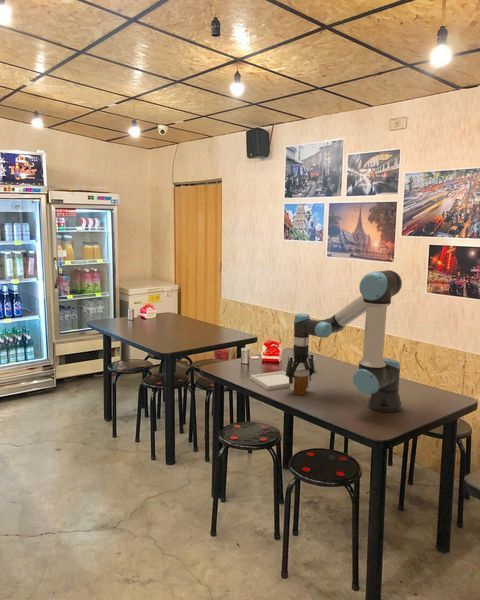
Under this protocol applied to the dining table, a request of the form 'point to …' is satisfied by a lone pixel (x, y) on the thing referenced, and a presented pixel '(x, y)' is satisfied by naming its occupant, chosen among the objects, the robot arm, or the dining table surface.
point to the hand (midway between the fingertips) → (299, 388)
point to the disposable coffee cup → (300, 381)
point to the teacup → (303, 364)
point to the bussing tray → (272, 380)
